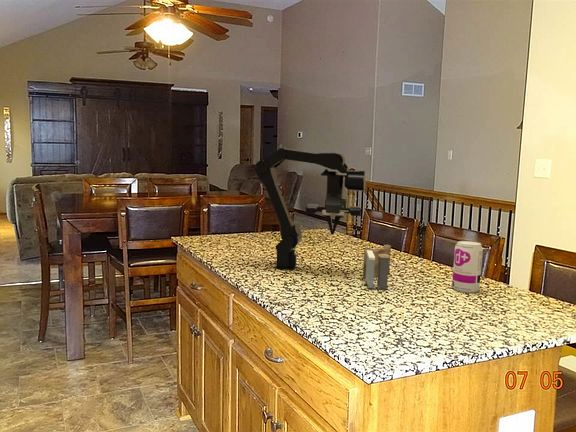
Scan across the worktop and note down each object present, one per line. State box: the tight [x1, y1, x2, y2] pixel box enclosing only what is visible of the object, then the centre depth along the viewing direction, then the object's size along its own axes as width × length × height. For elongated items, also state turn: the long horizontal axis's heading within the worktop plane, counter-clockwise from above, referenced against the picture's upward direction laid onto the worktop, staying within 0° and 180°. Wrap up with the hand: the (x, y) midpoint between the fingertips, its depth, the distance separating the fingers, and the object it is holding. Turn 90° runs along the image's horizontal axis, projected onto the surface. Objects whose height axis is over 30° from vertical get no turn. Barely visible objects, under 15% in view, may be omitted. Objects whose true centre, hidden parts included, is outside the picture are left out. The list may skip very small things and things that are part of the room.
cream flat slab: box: [364, 250, 375, 290], centre depth 170 cm, size 12×2×10 cm, turn 176°
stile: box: [376, 254, 391, 290], centre depth 166 cm, size 3×3×11 cm
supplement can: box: [451, 240, 484, 294], centre depth 168 cm, size 8×8×15 cm
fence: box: [362, 244, 392, 281], centre depth 182 cm, size 14×3×10 cm, turn 138°
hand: (332, 234), depth 185 cm, fingers closed
